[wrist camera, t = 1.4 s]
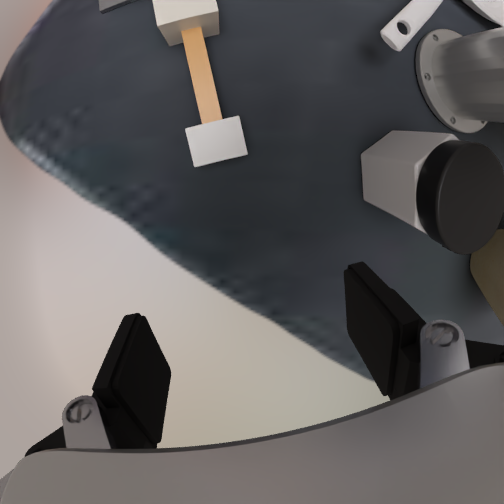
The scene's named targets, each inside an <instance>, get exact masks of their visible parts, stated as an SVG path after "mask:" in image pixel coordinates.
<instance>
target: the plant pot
mask: <svg viewBox="0 0 504 504" xmlns="http://www.w3.org/2000/svg"><path fill="white" fill-rule="evenodd" d="M470 270H471V274H472V276H473V277H474V279H475V281H476V283H477V284H478V286H479V288H480V290H481V291H482V293H483V295H484V296H485V298H486V300H487V301H488V303H489V305H490V306H491V308H492V309H493V311H494V312H495V314H496V315H497V317H498V318H499V320H500V321H501V323H502V324H503V326H504V229H497V230H496V232H495V233H494V235H493V237H492V238H491V239H490V240H489V242H488V243H487V244H486V245H485V246H484V247H482V248H481V249H480V250H478V251H476V252H474V253H472V255H471V260H470Z"/></svg>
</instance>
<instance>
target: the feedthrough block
mask: <svg viewBox="0 0 504 504" xmlns="http://www.w3.org/2000/svg"><path fill="white" fill-rule="evenodd" d="M134 1H137V0H99V7H100V12H101V13H102V14H103V13H106V12H108V11H111V10H113V9H116V8H118V7H121V6H123V5H126V4H129V3H131V2H134Z"/></svg>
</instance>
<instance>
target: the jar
mask: <svg viewBox="0 0 504 504" xmlns="http://www.w3.org/2000/svg"><path fill="white" fill-rule="evenodd" d="M361 165H362V180H363V199H364V200H365V201H366V202H368V203H370V204H372V205H374V206H376V207H378V208H380V209H382V210H384V211H386V212H388V213H390V214H391V215H393V216H395V217H397V218H399V219H401V220H403V221H404V222H406V223H408V224H410V225H412V226H413V227H415V228H417V229H419V230H420V231H422V232H424V233H426V234H427V235H429V236H430V237H431V238H432V239H433V240H435V241H436V242H438V243H440V244H441V245H442V246H443V247H445V248H447V249H449V250H450V251H453V252H455V253H457V254H464V255H465V254H471V253H474V252H476V251H478V250H480V249H481V248H482V247H484V246H485V245H486V244H487V243H488V242H489V240H490V239H491V238H492V237H493V235H494V233H495V232H496V230H497V228H498V226H499V224H500V221H501V218H502V215H503V212H504V173H503V170H502V167H501V164H500V162H499V160H498V158H497V157H496V155H495V154H494V153H493V152H492V151H491V150H490V149H489V148H488V147H486V146H485V145H482V144H480V143H475V142H468V141H460V140H459V139H458V138H457V137H456V136H454V135H453V134H448V133H436V132H420V131H396V130H393V131H391V132H390V133H388V134H387V135H386V136H384V137H383V138H382V139H380V140H379V141H378V142H376V143H375V144H374V145H372V146H371V147H369V148H368V149H367V150H365V151H364V152H363V153H362V154H361Z"/></svg>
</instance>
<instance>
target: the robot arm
mask: <svg viewBox="0 0 504 504" xmlns="http://www.w3.org/2000/svg"><path fill="white" fill-rule="evenodd" d="M415 62H416V73H417V78H418V82H419V85H420V88H421V91H422V94H423V96H424V98H425V100H426V102H427V104H428V105H429V107H430V109H431V110H432V112H433V113H434V114H435V115H436V117H437V118H438V119H439V120H440V121H441V122H442V123H443V124H444V125H446V126H447V127H449V128H450V129H452V130H454V131H457V132H462V133H474V132H477V131H479V130H480V129H482V128H483V127H484V126H485V125H486V123H487V122H488V121H491V122H502V123H504V27H501V28H496V29H492V30H487V31H483V32H478V33H474V34H470V35H466V36H462V35H460V34H458V33H457V32H454V31H452V30H449V29H437V30H434V31H431V32H429V33H427V34H426V35H425V36H424V37H423V38H422V39H421V41H420V42H419V45H418V47H417V50H416V58H415ZM344 283H345V298H346V316H347V330H348V334H349V336H350V338H351V340H352V342H353V343H354V345H355V347H356V349H357V350H358V352H359V354H360V356H361V357H362V359H363V361H364V363H365V364H366V366H367V368H368V370H369V371H370V373H371V375H372V377H373V379H374V380H375V382H376V384H377V386H378V388H379V389H380V391H381V393H382V394H383V396H387V395H388V396H389V398H390V401H388V402H385V403H382V404H380V405H377V406H374V407H371V408H368V409H365V410H363V411H360V412H357V413H354V414H350V415H347V416H344V417H341V418H337V419H334V420H331V421H327V422H324V423H320V424H316V425H312V426H308V427H305V428H300V429H296V430H292V431H288V432H283V433H278V434H274V435H269V436H263V437H258V438H252V439H246V440H241V441H233V442H226V443H219V444H211V445H201V446H190V447H177V448H159V449H158V448H157V443H160V442H161V439H162V431H163V424H164V417H165V411H166V404H167V398H168V391H169V385H170V379H171V370H170V367H169V365H168V363H167V361H166V359H165V357H164V355H163V353H162V351H161V349H160V346H159V344H158V343H157V340H156V338H155V336H154V334H153V332H152V330H151V328H150V325H149V323H148V321H147V319H146V317H145V316H141V315H140V314H139V313H135V314H130V315H126V316H124V318H123V320H122V322H121V324H120V326H119V328H118V330H117V332H116V334H115V337H114V339H113V341H112V343H111V345H110V348H109V350H108V353H107V354H106V357H105V359H104V361H103V364H102V366H101V368H100V370H99V373H98V375H97V378H96V380H95V382H94V385H93V388H92V390H93V391H94V392H93V395H92V396H80V397H77V398H75V399H73V400H72V401H70V402H69V403H68V404H67V406H66V407H65V408H64V411H63V413H62V420H63V426H62V427H60V428H59V429H57V430H56V431H55V432H53V433H52V434H50V435H49V436H47V437H46V438H44V439H43V440H41V441H40V442H38V443H36V444H35V445H33V446H32V447H31V448H30V449H29V450H28V451H27V453H26V455H25V457H24V458H23V459H22V460H20V461H19V462H18V464H17V465H16V467H15V468H14V469H13V470H12V471H10V472H9V473H8V474H7V475H5V476H4V477H3V478H2V479H1V480H0V504H504V345H496V344H490V343H483V342H477V341H470V340H465V338H464V334H463V331H462V329H461V328H460V327H459V326H458V325H457V324H455V323H453V322H451V321H448V320H434V321H431V322H429V323H426V322H425V321H424V320H423V319H422V318H421V317H420V316H419V315H418V314H417V313H416V312H415V311H414V310H413V309H412V308H411V306H410V305H409V304H408V303H407V302H406V301H405V300H404V299H403V298H402V297H401V296H400V295H399V294H398V293H397V292H396V291H395V290H394V289H391V288H389V287H388V286H387V285H386V284H385V283H384V282H383V281H382V280H381V279H380V278H379V277H378V276H377V275H376V274H375V273H374V272H373V271H372V270H371V269H370V268H369V267H368V266H367V265H366V264H365V263H364V262H359V263H355V264H351V265H348V269H347V270H344Z"/></svg>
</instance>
